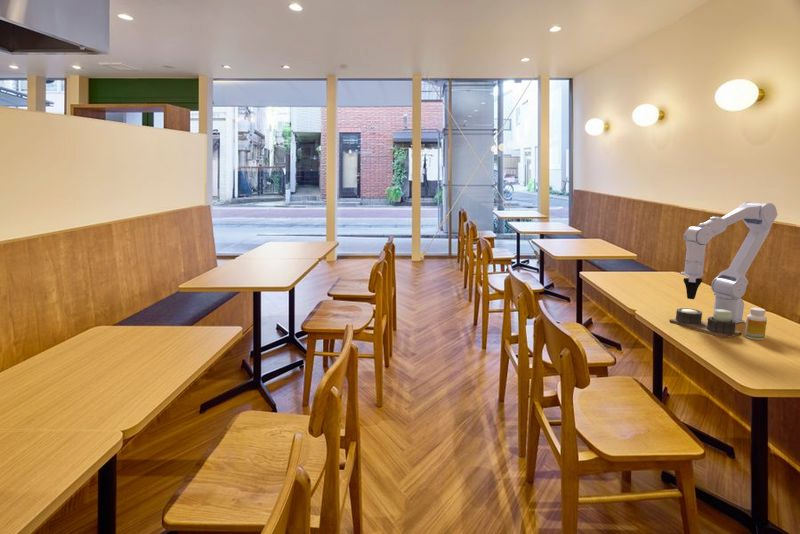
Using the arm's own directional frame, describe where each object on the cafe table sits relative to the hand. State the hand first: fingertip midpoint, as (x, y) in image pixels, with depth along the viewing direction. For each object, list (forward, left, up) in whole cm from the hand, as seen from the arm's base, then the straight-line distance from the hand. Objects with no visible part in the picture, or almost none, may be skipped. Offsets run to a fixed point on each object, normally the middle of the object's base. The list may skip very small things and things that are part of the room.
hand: (690, 298), depth 181 cm
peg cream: (0, 0, -8) cm, 8 cm away
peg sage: (0, +12, -5) cm, 13 cm away
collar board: (0, +6, -9) cm, 11 cm away
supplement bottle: (-5, +20, -9) cm, 23 cm away
